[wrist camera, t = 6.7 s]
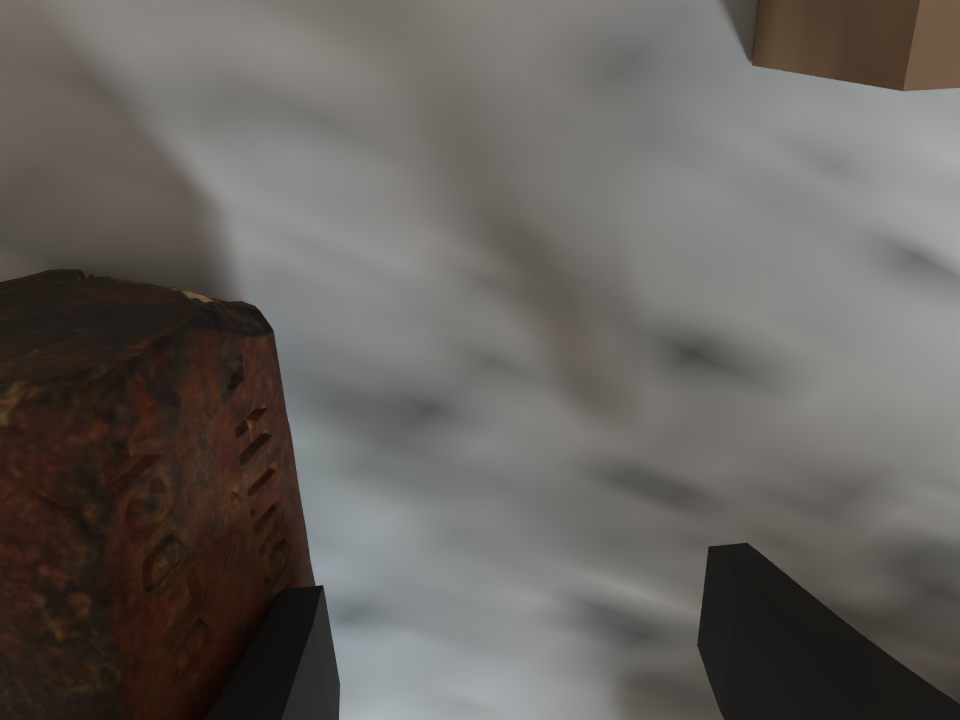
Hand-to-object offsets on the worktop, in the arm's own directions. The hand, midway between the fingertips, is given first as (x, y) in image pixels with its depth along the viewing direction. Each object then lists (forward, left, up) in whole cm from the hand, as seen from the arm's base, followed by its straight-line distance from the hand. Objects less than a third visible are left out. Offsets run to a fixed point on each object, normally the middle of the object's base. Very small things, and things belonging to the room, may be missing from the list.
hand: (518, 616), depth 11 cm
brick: (0, +5, -2) cm, 5 cm away
